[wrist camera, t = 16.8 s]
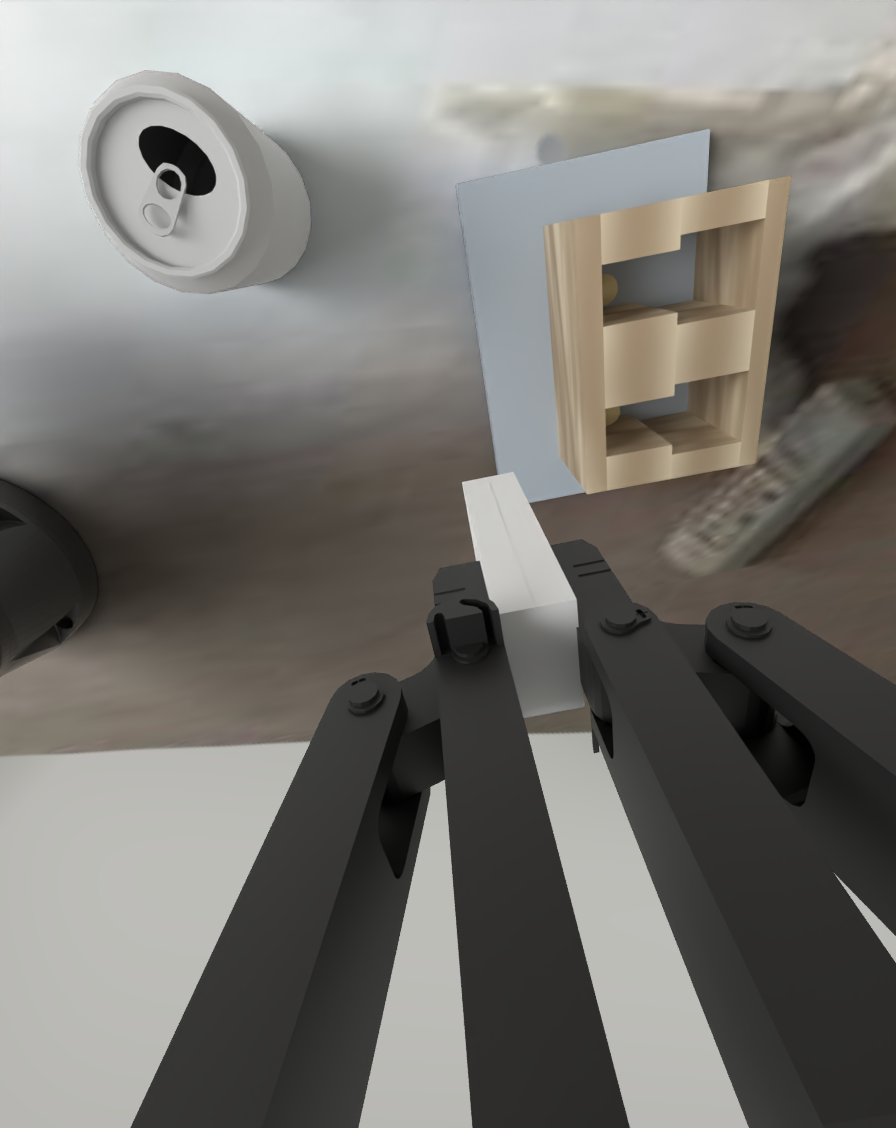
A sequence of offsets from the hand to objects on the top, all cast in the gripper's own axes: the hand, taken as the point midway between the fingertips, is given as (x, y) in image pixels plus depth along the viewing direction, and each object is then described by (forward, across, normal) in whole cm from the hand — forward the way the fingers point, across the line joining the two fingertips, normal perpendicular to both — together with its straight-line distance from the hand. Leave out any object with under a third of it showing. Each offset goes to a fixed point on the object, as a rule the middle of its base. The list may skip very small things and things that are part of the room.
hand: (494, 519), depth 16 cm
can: (+23, -10, +11) cm, 28 cm away
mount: (+23, +10, 0) cm, 25 cm away
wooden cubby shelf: (+22, +12, 0) cm, 25 cm away
